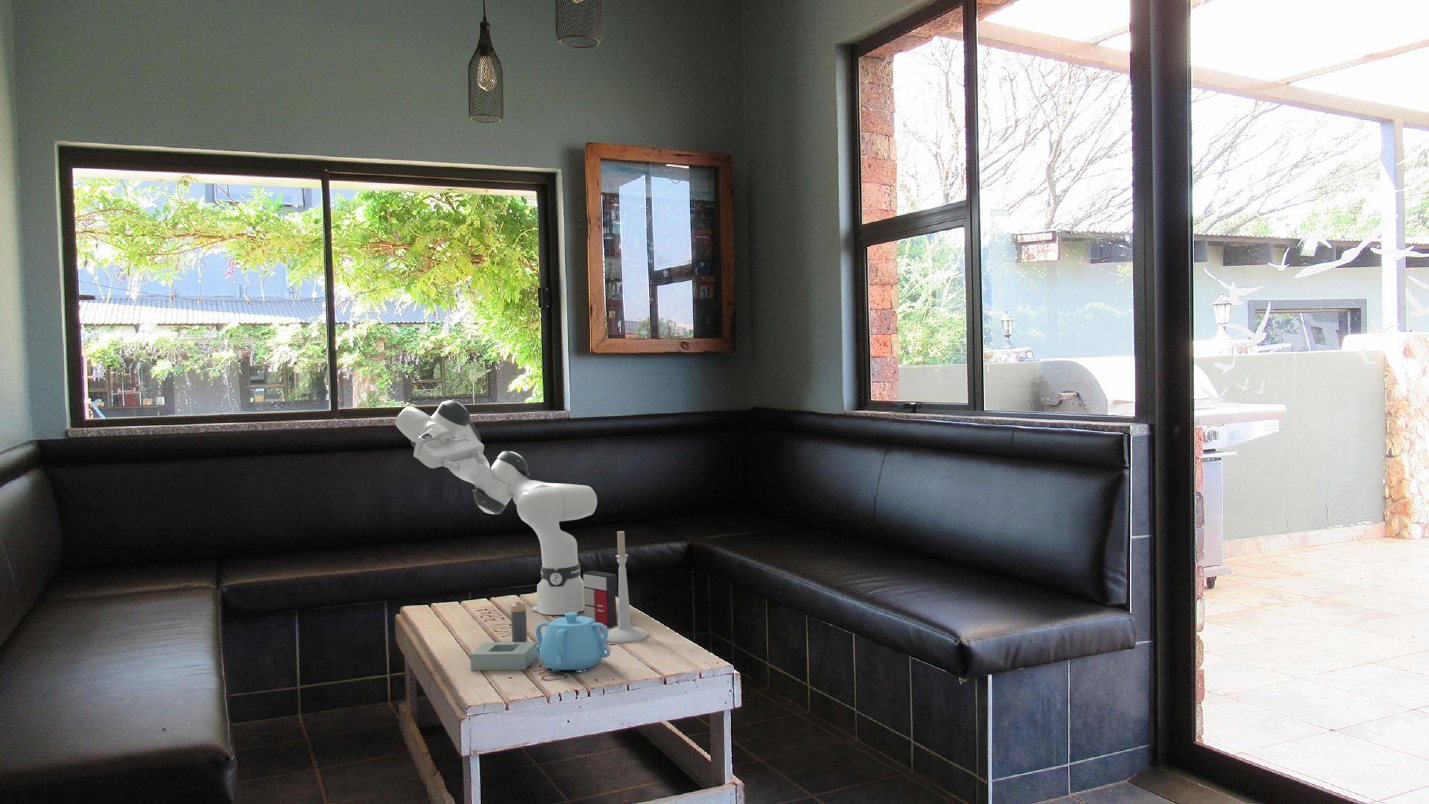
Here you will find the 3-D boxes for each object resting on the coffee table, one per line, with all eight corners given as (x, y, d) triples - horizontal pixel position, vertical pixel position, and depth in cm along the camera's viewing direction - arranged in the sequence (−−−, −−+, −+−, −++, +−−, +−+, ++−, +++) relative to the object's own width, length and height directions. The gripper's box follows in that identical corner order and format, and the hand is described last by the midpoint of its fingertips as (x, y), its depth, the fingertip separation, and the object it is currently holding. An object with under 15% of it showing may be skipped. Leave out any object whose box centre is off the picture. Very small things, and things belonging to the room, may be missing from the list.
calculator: (583, 623, 296) (580, 572, 295) (594, 620, 299) (592, 570, 298) (607, 628, 288) (605, 576, 288) (618, 625, 291) (616, 574, 291)
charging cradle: (484, 657, 262) (484, 642, 262) (537, 657, 261) (536, 641, 261) (470, 670, 251) (470, 654, 251) (525, 669, 250) (524, 653, 250)
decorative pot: (594, 654, 262) (592, 602, 262) (614, 669, 247) (612, 614, 247) (533, 664, 255) (531, 611, 255) (550, 680, 240) (548, 624, 240)
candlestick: (647, 642, 272) (643, 532, 271) (600, 644, 271) (596, 534, 270) (648, 630, 284) (644, 525, 283) (603, 632, 284) (598, 527, 283)
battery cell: (514, 646, 272) (512, 599, 272) (529, 646, 272) (527, 599, 272) (510, 650, 268) (508, 603, 268) (525, 650, 268) (523, 603, 268)
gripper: (462, 444, 300) (493, 467, 294) (408, 457, 283) (441, 482, 277) (467, 426, 298) (499, 449, 292) (413, 438, 281) (446, 462, 275)
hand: (470, 465), depth 285 cm, fingers open, 8 cm apart
